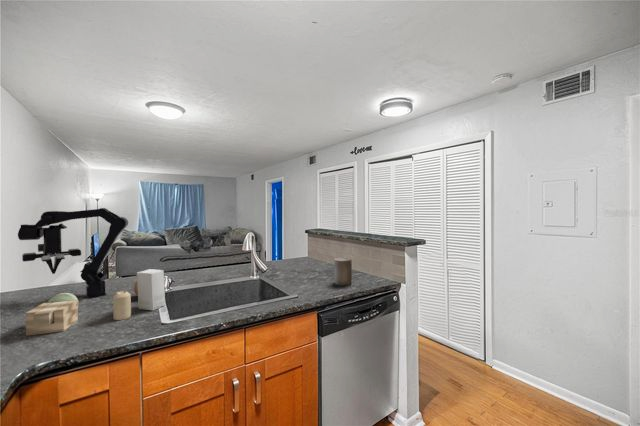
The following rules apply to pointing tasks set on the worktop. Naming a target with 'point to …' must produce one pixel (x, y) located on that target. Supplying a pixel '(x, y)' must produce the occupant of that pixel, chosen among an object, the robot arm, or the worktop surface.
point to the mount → (62, 318)
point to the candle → (121, 305)
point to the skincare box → (151, 289)
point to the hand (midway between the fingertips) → (53, 273)
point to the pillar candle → (343, 271)
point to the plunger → (52, 309)
